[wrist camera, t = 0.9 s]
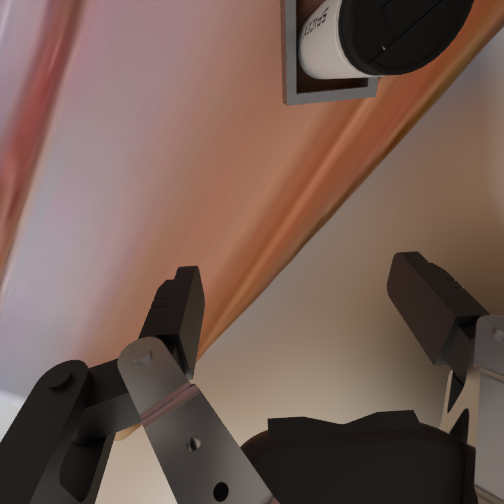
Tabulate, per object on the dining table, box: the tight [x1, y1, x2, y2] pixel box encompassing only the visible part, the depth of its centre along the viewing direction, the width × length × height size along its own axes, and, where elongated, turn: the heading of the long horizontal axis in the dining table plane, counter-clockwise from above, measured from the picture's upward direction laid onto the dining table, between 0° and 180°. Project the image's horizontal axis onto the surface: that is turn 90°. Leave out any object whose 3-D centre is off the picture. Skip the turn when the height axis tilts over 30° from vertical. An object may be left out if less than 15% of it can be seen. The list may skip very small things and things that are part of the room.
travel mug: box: [296, 0, 474, 79], centre depth 23 cm, size 6×7×20 cm
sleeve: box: [280, 0, 378, 105], centre depth 29 cm, size 11×10×4 cm
